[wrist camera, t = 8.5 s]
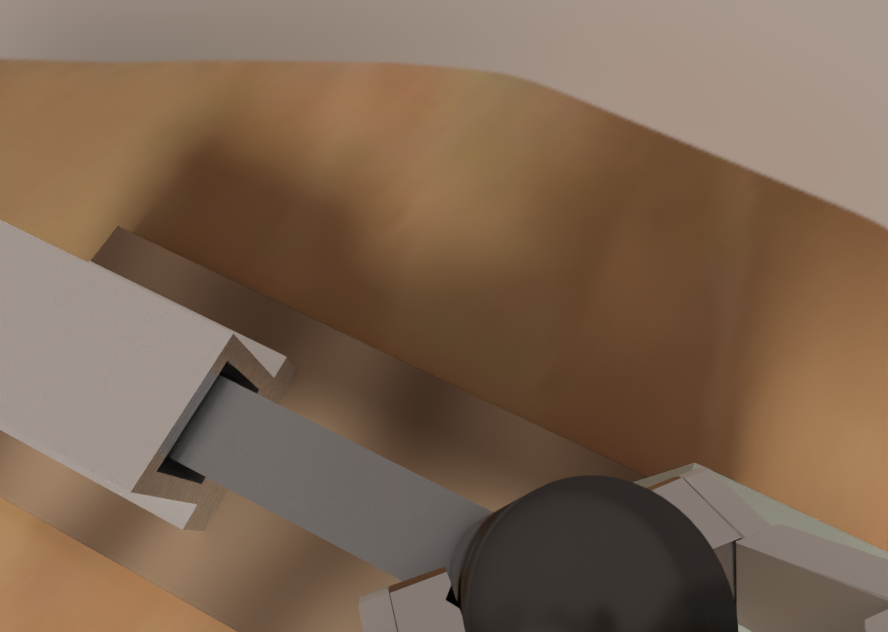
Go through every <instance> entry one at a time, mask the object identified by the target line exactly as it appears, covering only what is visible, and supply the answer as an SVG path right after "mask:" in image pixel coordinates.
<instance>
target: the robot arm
mask: <svg viewBox="0 0 888 632" xmlns="http://www.w3.org/2000/svg"><path fill="white" fill-rule="evenodd" d="M647 489H649V490H651V491H653V492H655V493H656V494H658V495H660V496H662V497H663V498H665V499H666V500H667V501H669V502H670V503H672V504H673V505H674V506H676V507H677V508H678V509H679V510H680V511H681V512H683V513H684V514H685V515H686V516H687V517H688V518H689V519H690V520H691V521H692V522H693V523H694V524H695V526H696V527H697V528H698V529H699V530H700V531H701V533H702V534H703V535H704V537H705V538H706V540H707V541H708V542H709V544H710V545H711V547H712V548H713V550H714V552H715V554H716V555H717V557H718V559H719V561H720V563H721V565H722V567H723V569H724V572H725V574H726V577H727V579H728V582H729V584H730V588H731V591H732V595H733V598H734V602H735V607H736V613H737V620H738V624H739V625H741V626H743V627H745V628H746V629H748V630H750V631H752V632H888V559H885V558H882V557H879V556H876V555H873V554H870V553H867V552H864V551H861V550H858V549H855V548H852V547H849V546H846V545H843V544H840V543H837V542H834V541H831V540H828V539H825V538H822V537H819V536H816V535H813V534H810V533H807V532H804V531H801V530H797V529H794V528H791V527H788V526H785V525H782V524H778V525H775V526H773V527H772V526H771V525H770V524H769V523H768V522H767V521H766V520H765V519H764V518H762V517H761V516H760V515H759V514H758V513H757V512H756V511H755V510H754V509H753V508H751V507H750V506H749V505H748V504H747V503H746V502H745V501H744V500H743V499H742V498H741V497H739V496H738V495H737V494H736V493H735V492H734V491H733V490H732V489H731V488H730V487H729V486H727V485H726V484H725V483H724V482H723V481H722V480H721V479H720V478H719V477H718V476H717V475H715V474H714V473H713V472H712V471H711V470H710V469H709V468H706V467H704V466H701V467H699V468H696V469H694V470H691V471H689V472H686V473H683V474H681V475H678V476H677V477H673V478H670V479H667V480H665V481H662V482H660V483H657V484H655V485H652V486H650V487H647ZM359 611H360V618H361V624H362V630H363V632H465V629H464V624H463V618H462V614H461V611H460V609H459V607H458V603H457V600H456V597H455V594H454V591H453V588H452V585H451V582H450V579H449V576H448V574H447V571H446V568H445V567H442V568H439V569H436V570H433V571H430V572H428V573H425V574H422V575H419V576H416V577H413V578H411V579H408V580H405V581H402V582H399V583H397V584H394V585H391V586H389V587H387V588H384V589H381V590H378V591H376V592H373V593H370V594H367V595H364V596H362V597H359Z"/></svg>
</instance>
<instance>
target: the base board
mask: <svg viewBox="0 0 888 632" xmlns="http://www.w3.org/2000/svg"><path fill="white" fill-rule="evenodd" d="M91 262H93V263H95V264H97V265H99V266H101V267H103V268H105V269H108V270H110V271H112V272H114V273H116V274H118V275H120V276H122V277H124V278H126V279H128V280H130V281H132V282H134V283H136V284H138V285H140V286H142V287H144V288H147V289H149V290H151V291H153V292H155V293H157V294H159V295H161V296H163V297H165V298H167V299H169V300H171V301H173V302H175V303H177V304H179V305H181V306H183V307H186V308H188V309H190V310H192V311H194V312H196V313H198V314H200V315H202V316H204V317H206V318H208V319H210V320H212V321H214V322H216V323H218V324H220V325H222V326H224V327H227V328H229V329H231V330H233V331H235V332H237V333H239V334H241V335H243V336H245V337H247V338H249V339H251V340H253V341H255V342H257V343H259V344H261V345H263V346H266V347H268V348H270V349H272V350H274V351H276V352H278V353H280V354H282V355H284V356H286V357H287V358H288V359H289V360H290V362H291V363H292V364H293V366H294V367H295V368H296V370H297V371H298V372H297V374H296V376H295V377H294V379H293V381H292V382H291V384H290V386H289V387H288V389H287V391H286V393H285V394H284V396H283V398H282V399H281V401H280V403H279V404H278V405H280V406H282V407H284V408H286V409H288V410H290V411H292V412H294V413H296V414H298V415H300V416H302V417H304V418H306V419H308V420H310V421H312V422H314V423H316V424H318V425H320V426H322V427H324V428H326V429H328V430H330V431H332V432H334V433H336V434H338V435H340V436H342V437H344V438H346V439H348V440H350V441H352V442H354V443H356V444H358V445H360V446H362V447H364V448H366V449H368V450H370V451H372V452H374V453H376V454H378V455H380V456H382V457H384V458H386V459H388V460H390V461H392V462H394V463H396V464H398V465H400V466H402V467H404V468H406V469H408V470H410V471H412V472H414V473H416V474H418V475H420V476H422V477H424V478H426V479H428V480H430V481H432V482H434V483H436V484H438V485H440V486H442V487H444V488H446V489H448V490H450V491H452V492H454V493H456V494H458V495H460V496H462V497H464V498H466V499H468V500H470V501H472V502H474V503H476V504H478V505H480V506H482V507H484V508H486V509H488V510H490V511H492V512H495V511H497V510H499V509H500V508H502V507H504V506H506V505H508V504H510V503H511V502H513V501H515V500H517V499H519V498H521V497H522V496H524V495H526V494H528V493H530V492H532V491H533V490H535V489H537V488H539V487H542V486H544V485H546V484H548V483H551V482H554V481H557V480H561V479H564V478H569V477H576V476H589V475H599V476H607V477H615V478H619V479H622V480H626V481H630V482H635V481H638V480H641V479H644V478H648V477H646V476H644V475H642V474H640V473H637V472H635V471H633V470H631V469H629V468H627V467H625V466H623V465H621V464H618V463H616V462H614V461H612V460H610V459H608V458H606V457H604V456H602V455H599V454H597V453H595V452H593V451H591V450H589V449H587V448H585V447H583V446H580V445H578V444H576V443H574V442H572V441H570V440H568V439H566V438H564V437H561V436H559V435H557V434H555V433H553V432H551V431H549V430H547V429H545V428H542V427H540V426H538V425H536V424H534V423H532V422H530V421H528V420H526V419H524V418H521V417H519V416H517V415H515V414H513V413H511V412H509V411H507V410H505V409H502V408H500V407H498V406H496V405H494V404H492V403H490V402H488V401H486V400H483V399H481V398H479V397H477V396H475V395H473V394H471V393H469V392H467V391H464V390H462V389H460V388H458V387H456V386H454V385H452V384H450V383H448V382H445V381H443V380H441V379H439V378H437V377H435V376H433V375H431V374H429V373H427V372H424V371H422V370H420V369H418V368H416V367H414V366H412V365H410V364H408V363H405V362H403V361H401V360H399V359H397V358H395V357H393V356H391V355H389V354H386V353H384V352H382V351H380V350H378V349H376V348H374V347H372V346H370V345H367V344H365V343H363V342H361V341H359V340H357V339H355V338H353V337H351V336H348V335H346V334H344V333H342V332H340V331H338V330H336V329H334V328H332V327H329V326H327V325H325V324H323V323H321V322H319V321H317V320H315V319H313V318H311V317H308V316H306V315H304V314H302V313H300V312H298V311H296V310H294V309H292V308H289V307H287V306H285V305H283V304H281V303H279V302H277V301H275V300H273V299H270V298H268V297H266V296H264V295H262V294H260V293H258V292H256V291H254V290H251V289H249V288H247V287H245V286H243V285H241V284H239V283H237V282H235V281H232V280H230V279H228V278H226V277H224V276H222V275H220V274H218V273H216V272H214V271H211V270H209V269H207V268H205V267H203V266H201V265H199V264H197V263H195V262H192V261H190V260H188V259H186V258H184V257H182V256H180V255H178V254H176V253H173V252H171V251H169V250H167V249H165V248H163V247H161V246H159V245H157V244H154V243H152V242H150V241H148V240H146V239H144V238H142V237H140V236H138V235H135V234H133V233H131V232H129V231H127V230H125V229H123V228H121V227H119V226H118V227H117V228H116V229H115V231H114V232H113V233H112V234H111V236H110V237H109V238H108V240H107V241H106V242H105V243H104V245H103V246H102V247H101V249H100V250H99V251H98V252H97V254H96V255H95V256H94V258H93V259H92V260H91ZM0 497H1V498H3V499H5V500H6V501H8V502H10V503H12V504H13V505H15V506H17V507H19V508H21V509H22V510H24V511H26V512H28V513H29V514H31V515H33V516H35V517H36V518H38V519H40V520H42V521H43V522H45V523H47V524H49V525H51V526H52V527H54V528H56V529H58V530H59V531H61V532H63V533H65V534H66V535H68V536H70V537H72V538H73V539H75V540H77V541H79V542H81V543H82V544H84V545H86V546H88V547H89V548H91V549H93V550H95V551H96V552H98V553H100V554H102V555H104V556H105V557H107V558H109V559H111V560H112V561H114V562H116V563H118V564H119V565H121V566H123V567H125V568H126V569H128V570H130V571H132V572H134V573H135V574H137V575H139V576H141V577H142V578H144V579H146V580H148V581H149V582H151V583H153V584H155V585H156V586H158V587H160V588H162V589H164V590H165V591H167V592H169V593H171V594H172V595H174V596H176V597H178V598H179V599H181V600H183V601H185V602H186V603H188V604H190V605H192V606H194V607H195V608H197V609H199V610H201V611H202V612H204V613H206V614H208V615H209V616H211V617H213V618H215V619H217V620H218V621H220V622H222V623H224V624H225V625H227V626H229V627H231V628H232V629H234V630H236V631H238V632H363V630H362V624H361V618H360V611H359V597H362V596H364V595H367V594H370V593H373V592H376V591H378V590H381V589H384V588H387V587H389V586H391V585H394V584H397V583H399V582H402V581H401V580H400V579H398V578H396V577H394V576H392V575H390V574H388V573H386V572H384V571H383V570H381V569H379V568H377V567H375V566H373V565H371V564H369V563H367V562H366V561H364V560H362V559H360V558H358V557H356V556H354V555H352V554H350V553H349V552H347V551H345V550H343V549H341V548H339V547H337V546H335V545H333V544H332V543H330V542H328V541H326V540H324V539H322V538H320V537H318V536H316V535H315V534H313V533H311V532H309V531H307V530H305V529H303V528H301V527H300V526H298V525H296V524H294V523H292V522H290V521H288V520H286V519H284V518H283V517H281V516H279V515H277V514H275V513H273V512H271V511H269V510H267V509H266V508H264V507H262V506H260V505H258V504H256V503H254V502H252V501H250V500H249V499H247V498H245V497H243V496H241V495H239V494H237V493H235V492H233V491H232V490H230V489H228V491H227V492H226V494H225V496H224V497H223V499H222V501H221V502H220V504H219V506H218V508H217V509H216V511H215V513H214V514H213V516H212V518H211V519H210V521H209V523H208V524H207V526H206V528H205V529H204V531H193V530H182V529H180V528H178V527H176V526H175V525H173V524H171V523H169V522H167V521H165V520H164V519H162V518H160V517H158V516H156V515H155V514H153V513H151V512H149V511H147V510H145V509H144V508H142V507H140V506H138V505H136V504H134V503H133V502H131V501H129V500H127V499H125V498H123V497H122V496H120V495H118V494H116V493H114V492H113V491H111V490H109V489H107V488H105V487H103V486H102V485H100V484H98V483H96V482H94V481H92V480H91V479H89V478H87V477H85V476H83V475H81V474H80V473H78V472H76V471H74V470H72V469H71V468H69V467H67V466H65V465H63V464H61V463H60V462H58V461H56V460H54V459H52V458H50V457H49V456H47V455H45V454H43V453H41V452H39V451H38V450H36V449H34V448H32V447H30V446H28V445H27V444H25V443H23V442H21V441H19V440H18V439H16V438H14V437H12V436H10V435H8V434H7V433H5V432H3V431H1V430H0Z"/></svg>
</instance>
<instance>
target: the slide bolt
mask: <svg viewBox="0 0 888 632" xmlns="http://www.w3.org/2000/svg"><path fill="white" fill-rule="evenodd" d="M167 457H169V458H171V459H173V460H175V461H177V462H179V463H181V464H183V465H184V466H186V467H188V468H190V469H192V470H194V471H196V472H198V473H199V474H201V475H203V476H205V477H207V478H209V479H211V480H213V481H215V482H216V483H218V484H220V485H222V486H224V487H226V488H228V489H230V490H232V491H233V492H235V493H237V494H239V495H241V496H243V497H245V498H247V499H249V500H250V501H252V502H254V503H256V504H258V505H260V506H262V507H264V508H266V509H267V510H269V511H271V512H273V513H275V514H277V515H279V516H281V517H283V518H284V519H286V520H288V521H290V522H292V523H294V524H296V525H298V526H300V527H301V528H303V529H305V530H307V531H309V532H311V533H313V534H315V535H316V536H318V537H320V538H322V539H324V540H326V541H328V542H330V543H332V544H333V545H335V546H337V547H339V548H341V549H343V550H345V551H347V552H349V553H350V554H352V555H354V556H356V557H358V558H360V559H362V560H364V561H366V562H367V563H369V564H371V565H373V566H375V567H377V568H379V569H381V570H383V571H384V572H386V573H388V574H390V575H392V576H394V577H396V578H398V579H400V580H401V581H405V580H408V579H411V578H413V577H416V576H419V575H422V574H425V573H428V572H430V571H433V570H436V569H439V568H442V567H445V568H446V571H447V574H448V576H449V579H450V582H451V585H452V588H453V591H454V594H455V597H456V600H457V603H458V607H459V609H460V611H461V614H462V618H463V624H464V629H465V632H738V620H737V613H736V607H735V602H734V598H733V595H732V591H731V588H730V584H729V582H728V579H727V577H726V574H725V572H724V569H723V567H722V565H721V563H720V561H719V559H718V557H717V555H716V554H715V552H714V550H713V548H712V547H711V545H710V544H709V542H708V541H707V540H706V538H705V537H704V535H703V534H702V533H701V531H700V530H699V529H698V528H697V527H696V526H695V524H694V523H693V522H692V521H691V520H690V519H689V518H688V517H687V516H686V515H685V514H684V513H683V512H681V511H680V510H679V509H678V508H677V507H676V506H674V505H673V504H672V503H670V502H669V501H667V500H666V499H665V498H663V497H662V496H660V495H658V494H656V493H655V492H653V491H651V490H649V489H647V488H645V487H643V486H640V485H638V484H635V483H633V482H630V481H626V480H622V479H619V478H615V477H607V476H599V475H589V476H576V477H569V478H564V479H561V480H557V481H554V482H551V483H548V484H546V485H544V486H542V487H539V488H537V489H535V490H533V491H532V492H530V493H528V494H526V495H524V496H522V497H521V498H519V499H517V500H515V501H513V502H511V503H510V504H508V505H506V506H504V507H502V508H500V509H499V510H497V511H495V512H492V511H490V510H488V509H486V508H484V507H482V506H480V505H478V504H476V503H474V502H472V501H470V500H468V499H466V498H464V497H462V496H460V495H458V494H456V493H454V492H452V491H450V490H448V489H446V488H444V487H442V486H440V485H438V484H436V483H434V482H432V481H430V480H428V479H426V478H424V477H422V476H420V475H418V474H416V473H414V472H412V471H410V470H408V469H406V468H404V467H402V466H400V465H398V464H396V463H394V462H392V461H390V460H388V459H386V458H384V457H382V456H380V455H378V454H376V453H374V452H372V451H370V450H368V449H366V448H364V447H362V446H360V445H358V444H356V443H354V442H352V441H350V440H348V439H346V438H344V437H342V436H340V435H338V434H336V433H334V432H332V431H330V430H328V429H326V428H324V427H322V426H320V425H318V424H316V423H314V422H312V421H310V420H308V419H306V418H304V417H302V416H300V415H298V414H296V413H294V412H292V411H290V410H288V409H286V408H284V407H282V406H280V405H278V404H276V403H274V402H272V401H270V400H268V399H266V398H264V397H262V396H260V395H258V394H256V393H254V392H252V391H250V390H248V389H246V388H244V387H242V386H240V385H238V384H236V383H234V382H233V381H231V380H229V379H227V378H225V377H223V376H221V375H218V376H217V378H216V379H215V381H214V382H213V384H212V386H211V387H210V389H209V390H208V392H207V393H206V395H205V396H204V398H203V400H202V401H201V403H200V404H199V406H198V407H197V409H196V411H195V412H194V414H193V415H192V417H191V418H190V420H189V421H188V423H187V425H186V426H185V428H184V429H183V431H182V432H181V434H180V436H179V437H178V439H177V440H176V442H175V443H174V445H173V446H172V448H171V450H170V451H169V453H168V454H167Z"/></svg>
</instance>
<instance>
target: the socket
mask: <svg viewBox="0 0 888 632" xmlns="http://www.w3.org/2000/svg"><path fill="white" fill-rule="evenodd" d="M699 467H701V465H699V464H697V463H695V462H694V463H691V464H688V465H685V466H682V467H679V468H676V469H673V470H669V471H666V472H663V473H660V474H657V475H654V476H651V477H648V478H644V479H641V480H638V481H635V482H633V483H635V484H638V485H640V486H643V487H645V488H647V487H650V486H652V485H655V484H657V483H660V482H662V481H665V480H667V479H670V478H673V477H677V476H678V475H681V474H683V473H686V472H689V471H691V470H694V469H696V468H699ZM711 471H712V470H711ZM712 472H713V473H714V474H715V475H717V476H718V477H719V478H720V479H721V480H722V481H723V482H724V483H725V484H726V485H727V486H729V487H730V488H731V489H732V490H733V491H734V492H735V493H736V494H737V495H738V496H739V497H741V498H742V499H743V500H744V501H745V502H746V503H747V504H748V505H749V506H750V507H751V508H753V509H754V510H755V511H756V512H757V513H758V514H759V515H760V516H761V517H762V518H764V519H765V520H766V521H767V522H768V523H769V524H770V525H771V526H772V527H773V526H775V525H778V524H782V525H785V526H788V527H791V528H794V529H797V530H801V531H804V532H807V533H810V534H813V535H816V536H819V537H822V538H825V539H828V540H831V541H834V542H837V543H840V544H843V545H846V546H849V547H852V548H855V549H858V550H861V551H864V552H867V553H870V554H873V555H876V556H879V557H882V558H885V559H888V552H886V551H884V550H882V549H879V548H877V547H875V546H873V545H871V544H869V543H866V542H864V541H862V540H860V539H858V538H856V537H854V536H851V535H849V534H847V533H845V532H843V531H841V530H839V529H836V528H834V527H832V526H830V525H828V524H826V523H824V522H821V521H819V520H817V519H815V518H813V517H811V516H808V515H806V514H804V513H802V512H800V511H798V510H796V509H793V508H791V507H789V506H787V505H785V504H783V503H781V502H778V501H776V500H774V499H772V498H770V497H768V496H765V495H763V494H761V493H759V492H757V491H755V490H753V489H750V488H748V487H746V486H744V485H742V484H740V483H738V482H735V481H733V480H731V479H729V478H727V477H725V476H723V475H720V474H718V473H716V472H714V471H712ZM738 632H752V631H750V630H748V629H746V628H745V627H743V626H741V625H739V624H738Z"/></svg>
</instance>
